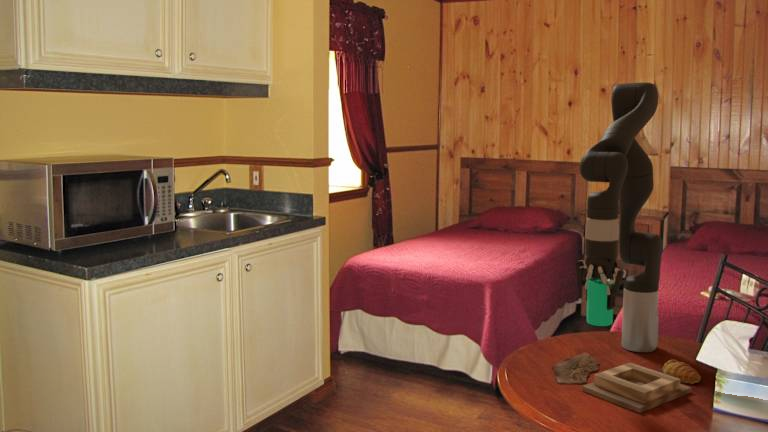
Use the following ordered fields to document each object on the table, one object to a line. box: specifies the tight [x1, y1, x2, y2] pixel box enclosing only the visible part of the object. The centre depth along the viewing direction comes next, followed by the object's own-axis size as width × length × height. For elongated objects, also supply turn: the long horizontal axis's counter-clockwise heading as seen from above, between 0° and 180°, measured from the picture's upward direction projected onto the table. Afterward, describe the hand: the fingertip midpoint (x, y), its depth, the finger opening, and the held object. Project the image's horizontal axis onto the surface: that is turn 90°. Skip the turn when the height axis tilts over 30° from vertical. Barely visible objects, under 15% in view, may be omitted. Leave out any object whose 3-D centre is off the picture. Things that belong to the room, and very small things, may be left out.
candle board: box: [581, 362, 692, 414], centre depth 167 cm, size 20×16×4 cm
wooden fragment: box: [551, 352, 601, 386], centre depth 183 cm, size 26×11×1 cm, turn 147°
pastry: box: [661, 359, 702, 385], centre depth 175 cm, size 9×7×4 cm
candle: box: [586, 279, 614, 327], centre depth 165 cm, size 6×6×12 cm
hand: (600, 306), depth 166 cm, fingers closed on candle, 4 cm apart
